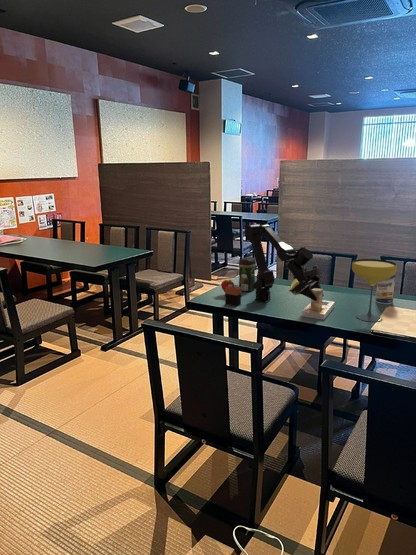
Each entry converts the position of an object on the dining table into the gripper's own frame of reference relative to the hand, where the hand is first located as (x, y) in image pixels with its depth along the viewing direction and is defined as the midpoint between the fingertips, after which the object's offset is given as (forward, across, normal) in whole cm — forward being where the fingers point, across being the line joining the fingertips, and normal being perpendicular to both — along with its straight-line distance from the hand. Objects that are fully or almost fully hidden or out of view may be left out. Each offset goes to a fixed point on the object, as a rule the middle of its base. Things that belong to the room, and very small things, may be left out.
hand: (319, 298), depth 182 cm
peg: (+5, 0, +7) cm, 8 cm away
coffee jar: (-29, +17, +41) cm, 53 cm away
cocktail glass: (+20, +10, -8) cm, 23 cm away
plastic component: (-12, +40, +24) cm, 49 cm away
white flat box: (+4, +5, +7) cm, 10 cm away
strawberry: (-31, +3, +43) cm, 53 cm away
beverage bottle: (+19, +38, -7) cm, 43 cm away
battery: (-23, -10, +34) cm, 42 cm away
